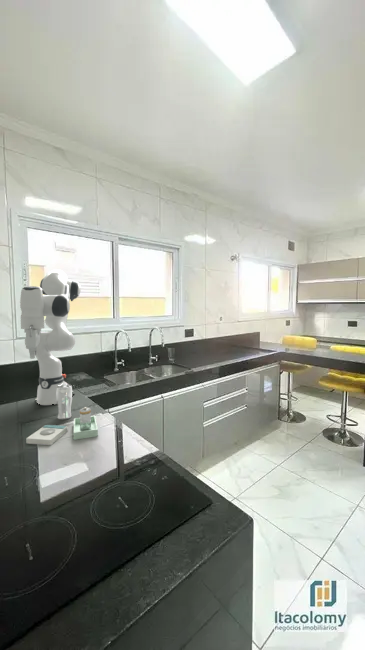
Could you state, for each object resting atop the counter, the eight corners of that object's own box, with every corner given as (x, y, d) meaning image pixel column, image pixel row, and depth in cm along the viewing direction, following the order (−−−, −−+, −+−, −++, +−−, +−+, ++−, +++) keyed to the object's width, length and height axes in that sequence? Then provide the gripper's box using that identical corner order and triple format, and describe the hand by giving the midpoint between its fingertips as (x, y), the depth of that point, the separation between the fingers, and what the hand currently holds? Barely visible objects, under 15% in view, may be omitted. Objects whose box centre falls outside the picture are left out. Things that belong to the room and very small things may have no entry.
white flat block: (45, 429, 118) (45, 424, 118) (67, 431, 117) (67, 425, 117) (26, 443, 106) (26, 437, 106) (50, 445, 105) (50, 439, 105)
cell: (82, 427, 119) (82, 405, 119) (92, 428, 119) (92, 406, 118) (77, 432, 115) (77, 409, 114) (88, 433, 114) (88, 409, 114)
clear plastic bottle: (66, 420, 128) (66, 388, 127) (53, 419, 129) (52, 387, 128) (75, 415, 135) (75, 384, 134) (62, 413, 136) (62, 383, 135)
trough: (74, 424, 124) (73, 418, 124) (95, 421, 127) (95, 415, 127) (73, 439, 110) (73, 432, 109) (97, 436, 113) (97, 429, 113)
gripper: (39, 325, 110) (40, 360, 111) (42, 323, 129) (43, 352, 129) (21, 326, 107) (22, 361, 108) (26, 323, 126) (27, 353, 127)
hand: (33, 356), depth 119 cm, fingers open, 8 cm apart
